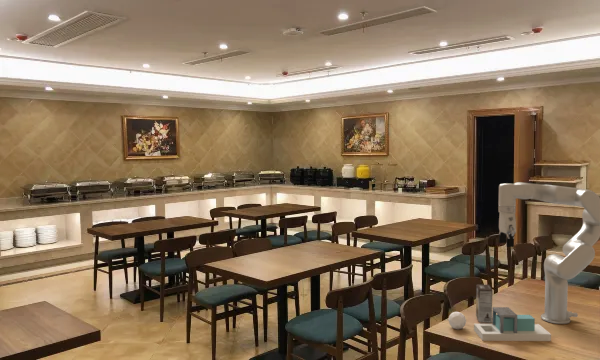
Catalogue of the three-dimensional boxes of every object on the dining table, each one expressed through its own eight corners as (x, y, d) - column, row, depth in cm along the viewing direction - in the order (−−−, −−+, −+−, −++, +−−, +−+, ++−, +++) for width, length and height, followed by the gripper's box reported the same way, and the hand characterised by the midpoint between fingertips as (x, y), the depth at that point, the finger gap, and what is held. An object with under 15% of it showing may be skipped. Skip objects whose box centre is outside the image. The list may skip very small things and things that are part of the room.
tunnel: (508, 324, 219) (508, 307, 219) (517, 333, 209) (517, 315, 208) (492, 324, 220) (492, 307, 219) (500, 333, 209) (500, 315, 209)
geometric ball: (459, 335, 221) (461, 326, 216) (444, 325, 226) (445, 316, 221) (468, 324, 225) (470, 314, 220) (453, 315, 230) (454, 305, 225)
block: (529, 326, 216) (529, 314, 216) (534, 331, 211) (534, 318, 211) (495, 326, 217) (495, 314, 216) (499, 330, 212) (499, 318, 211)
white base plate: (538, 330, 219) (538, 324, 219) (550, 341, 207) (551, 334, 207) (473, 330, 221) (473, 323, 221) (482, 340, 209) (482, 333, 209)
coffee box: (475, 315, 240) (475, 283, 238) (489, 316, 238) (489, 284, 237) (478, 322, 231) (478, 289, 229) (492, 323, 229) (493, 289, 228)
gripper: (522, 211, 221) (521, 248, 222) (508, 207, 238) (507, 241, 240) (505, 211, 222) (504, 248, 223) (492, 207, 239) (492, 241, 240)
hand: (506, 244), depth 231 cm, fingers open, 9 cm apart
